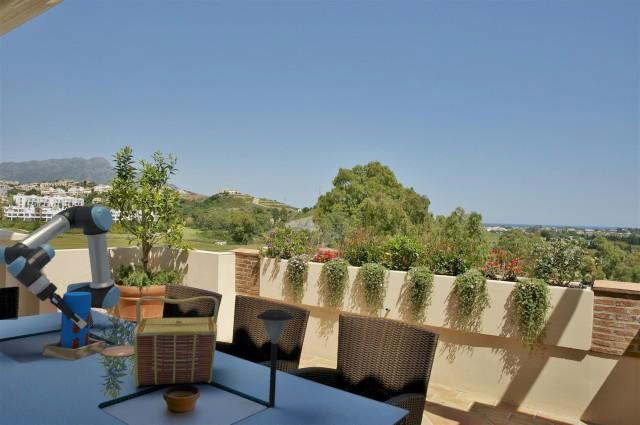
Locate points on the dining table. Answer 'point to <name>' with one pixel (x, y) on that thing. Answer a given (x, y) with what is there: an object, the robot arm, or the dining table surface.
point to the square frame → (73, 350)
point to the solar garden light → (274, 341)
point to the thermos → (71, 331)
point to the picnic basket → (174, 347)
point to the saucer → (118, 351)
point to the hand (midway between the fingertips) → (83, 323)
